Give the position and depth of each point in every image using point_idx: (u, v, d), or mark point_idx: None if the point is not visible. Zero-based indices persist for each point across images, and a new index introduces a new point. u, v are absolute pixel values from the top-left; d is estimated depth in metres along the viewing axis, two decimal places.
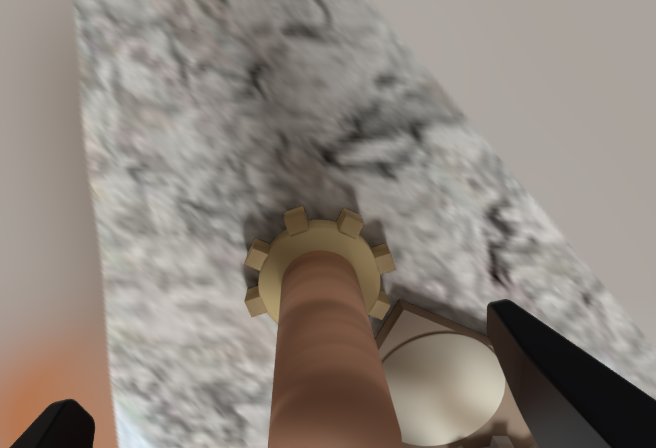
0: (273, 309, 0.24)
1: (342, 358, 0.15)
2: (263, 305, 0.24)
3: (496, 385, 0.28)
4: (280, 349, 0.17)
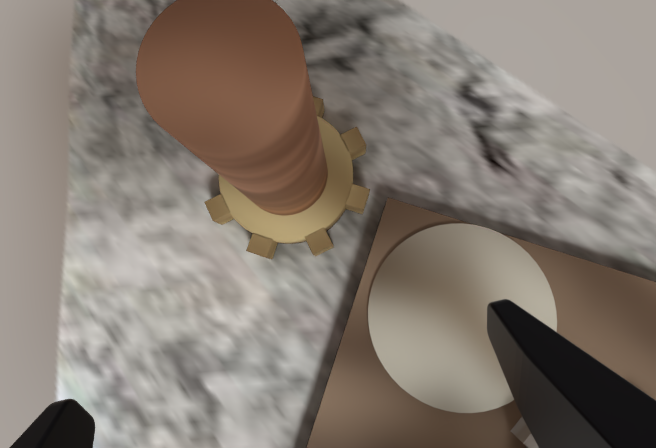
0: (236, 208, 0.22)
1: None
2: (225, 204, 0.22)
3: (540, 295, 0.20)
4: None
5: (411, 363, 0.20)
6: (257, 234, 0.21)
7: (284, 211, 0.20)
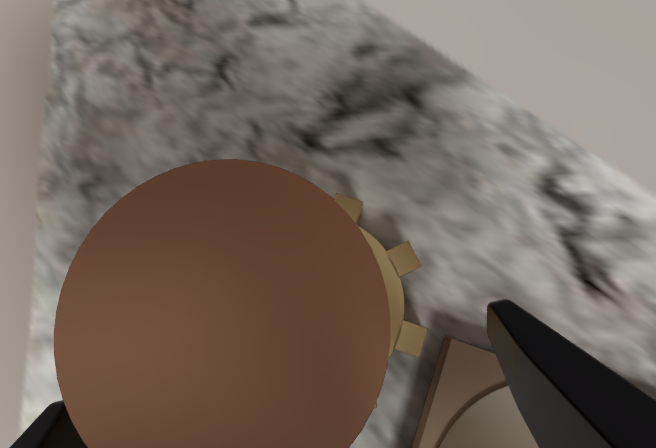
0: None
1: None
2: None
3: None
4: None
5: None
6: None
7: None
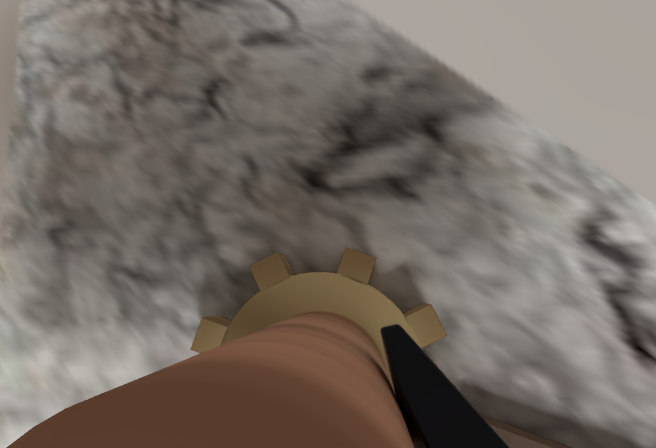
0: None
1: (251, 350, 0.05)
2: None
3: None
4: None
5: None
6: None
7: None
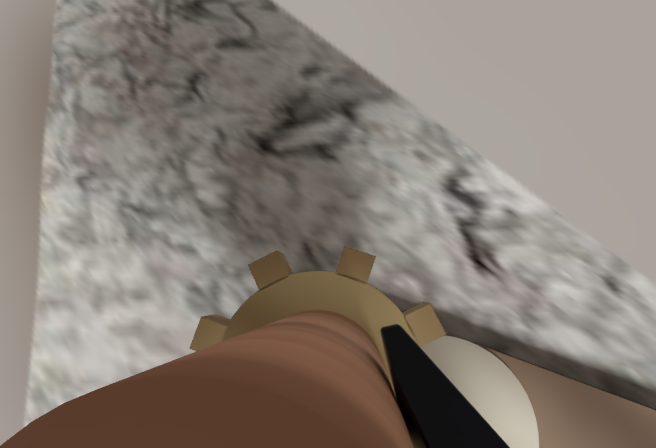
0: None
1: (249, 346, 0.05)
2: None
3: (522, 417, 0.19)
4: None
5: None
6: None
7: None
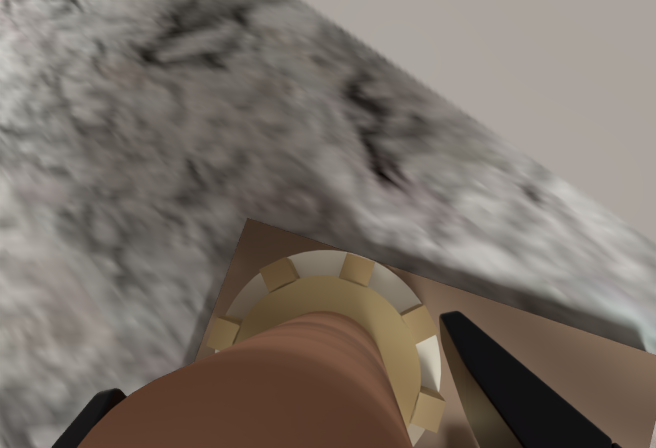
0: None
1: (276, 341, 0.06)
2: None
3: None
4: None
5: None
6: None
7: None
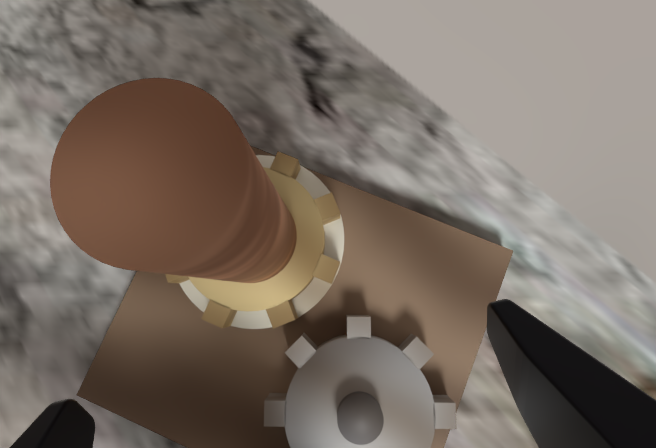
0: None
1: None
2: None
3: (331, 225, 0.22)
4: None
5: None
6: (215, 301, 0.20)
7: (244, 282, 0.19)
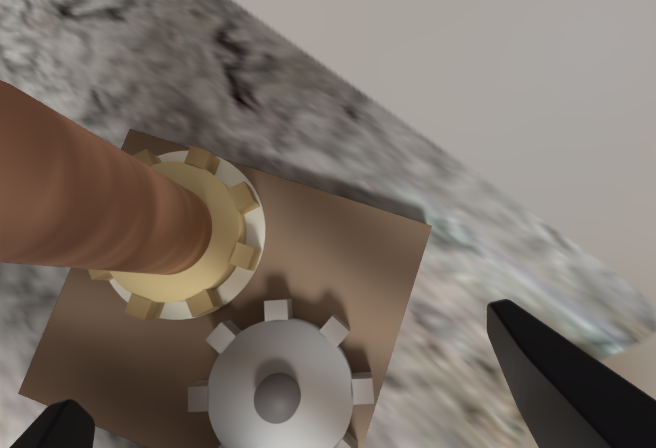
0: None
1: None
2: None
3: (252, 214, 0.22)
4: None
5: None
6: (136, 294, 0.20)
7: (157, 273, 0.19)
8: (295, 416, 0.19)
